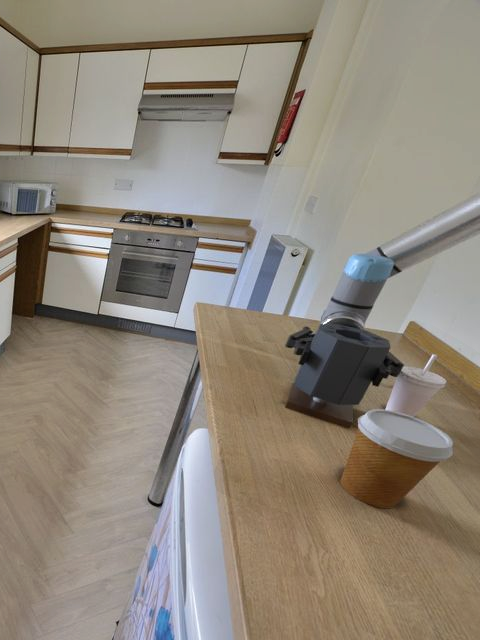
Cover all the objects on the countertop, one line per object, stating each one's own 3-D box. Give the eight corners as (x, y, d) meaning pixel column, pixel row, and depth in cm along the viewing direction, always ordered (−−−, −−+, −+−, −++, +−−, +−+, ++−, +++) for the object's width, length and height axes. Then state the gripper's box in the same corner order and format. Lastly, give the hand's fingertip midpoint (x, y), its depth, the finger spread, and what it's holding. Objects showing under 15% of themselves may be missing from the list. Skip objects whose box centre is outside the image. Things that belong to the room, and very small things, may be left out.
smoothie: (373, 416, 80) (410, 352, 74) (375, 404, 84) (410, 342, 78) (419, 431, 76) (462, 365, 70) (419, 418, 80) (459, 354, 74)
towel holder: (349, 407, 82) (379, 352, 77) (349, 429, 76) (382, 370, 70) (289, 388, 88) (313, 336, 83) (284, 407, 81) (310, 351, 76)
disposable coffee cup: (423, 505, 59) (471, 439, 54) (391, 527, 55) (439, 458, 50) (346, 463, 67) (381, 401, 62) (313, 479, 63) (348, 415, 58)
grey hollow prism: (358, 390, 81) (388, 335, 76) (358, 411, 74) (392, 352, 69) (296, 372, 87) (320, 320, 81) (292, 390, 80) (317, 334, 74)
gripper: (402, 366, 85) (414, 411, 70) (274, 333, 98) (260, 364, 82) (422, 333, 82) (439, 373, 66) (286, 304, 95) (274, 331, 79)
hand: (339, 368), depth 74 cm, fingers closed on grey hollow prism, 10 cm apart
